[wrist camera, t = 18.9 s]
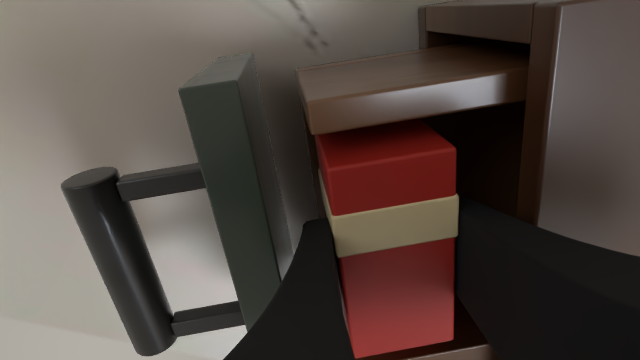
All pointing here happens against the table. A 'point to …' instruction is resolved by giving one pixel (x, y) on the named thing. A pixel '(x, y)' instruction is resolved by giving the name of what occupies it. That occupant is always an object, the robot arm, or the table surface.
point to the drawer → (262, 180)
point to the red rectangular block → (392, 232)
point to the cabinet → (567, 108)
